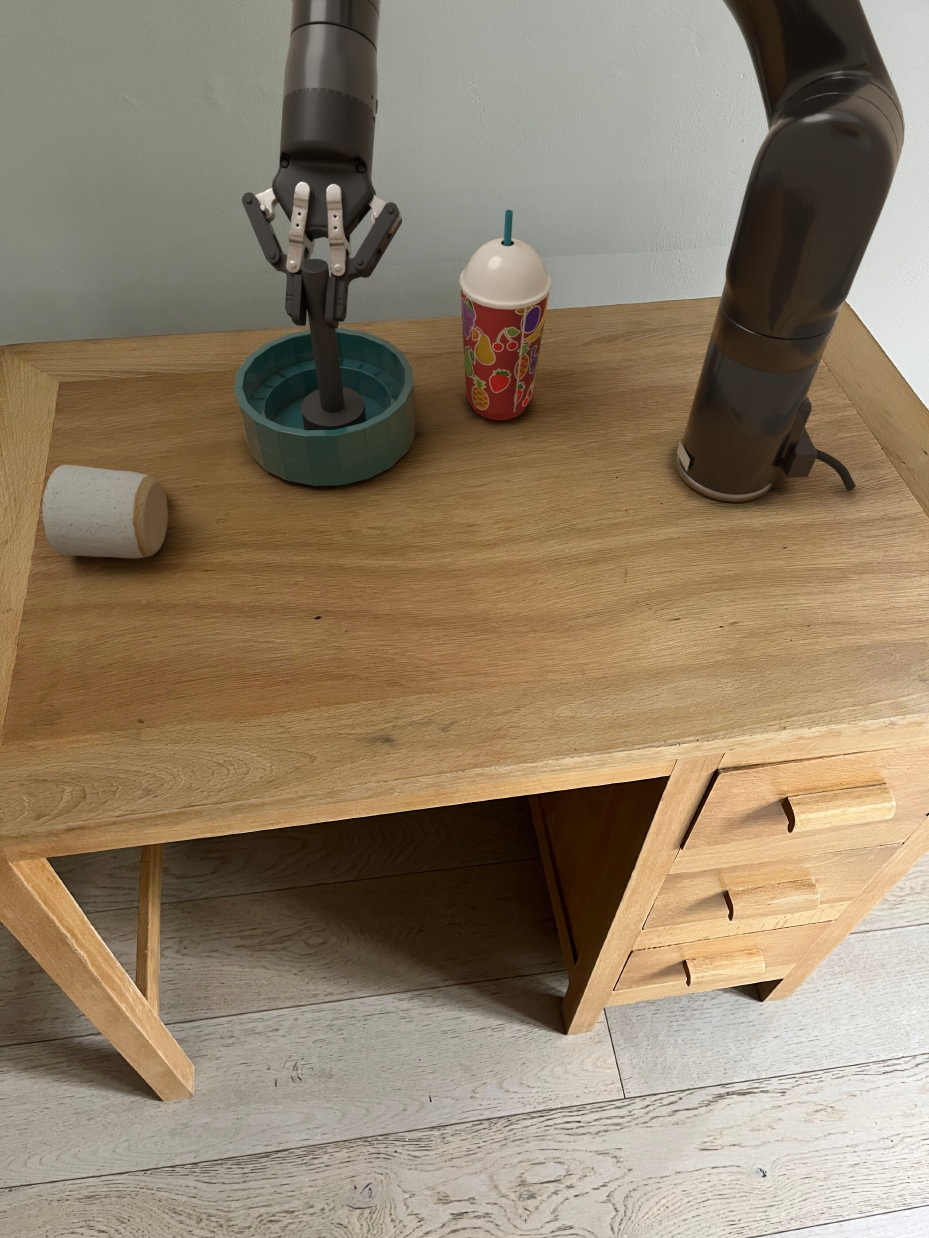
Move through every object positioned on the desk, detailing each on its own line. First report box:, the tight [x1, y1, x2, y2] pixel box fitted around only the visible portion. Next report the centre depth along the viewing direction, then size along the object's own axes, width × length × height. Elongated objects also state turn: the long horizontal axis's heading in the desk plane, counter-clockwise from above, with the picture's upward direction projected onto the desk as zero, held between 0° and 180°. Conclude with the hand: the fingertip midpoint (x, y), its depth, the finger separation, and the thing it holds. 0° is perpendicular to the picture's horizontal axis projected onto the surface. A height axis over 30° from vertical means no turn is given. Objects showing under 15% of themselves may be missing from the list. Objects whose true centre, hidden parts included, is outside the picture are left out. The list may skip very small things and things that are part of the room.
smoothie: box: [458, 209, 552, 421], centre depth 81 cm, size 8×8×20 cm
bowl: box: [233, 327, 416, 487], centre depth 83 cm, size 17×17×6 cm
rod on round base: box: [301, 258, 366, 430], centre depth 77 cm, size 6×6×17 cm
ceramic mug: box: [41, 464, 169, 559], centre depth 73 cm, size 11×8×8 cm
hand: (315, 324), depth 72 cm, fingers closed on rod on round base
